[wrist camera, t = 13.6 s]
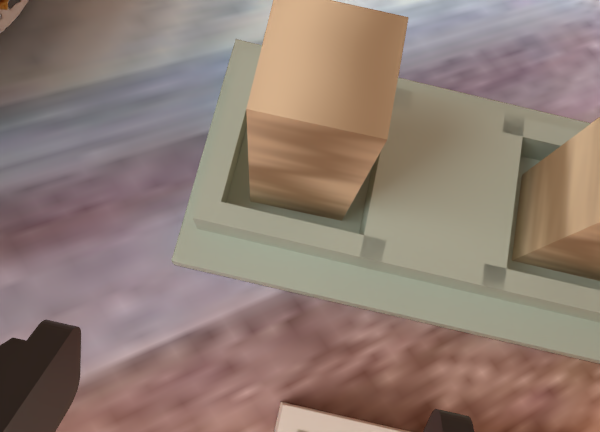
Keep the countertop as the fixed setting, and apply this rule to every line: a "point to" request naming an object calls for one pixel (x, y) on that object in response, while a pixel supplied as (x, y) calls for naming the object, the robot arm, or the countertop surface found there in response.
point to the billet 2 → (562, 209)
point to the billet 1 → (321, 103)
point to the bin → (322, 421)
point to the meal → (9, 12)
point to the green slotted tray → (401, 221)
